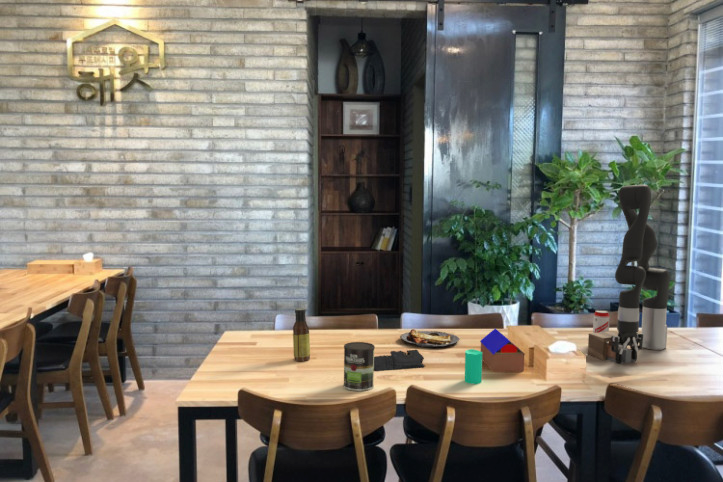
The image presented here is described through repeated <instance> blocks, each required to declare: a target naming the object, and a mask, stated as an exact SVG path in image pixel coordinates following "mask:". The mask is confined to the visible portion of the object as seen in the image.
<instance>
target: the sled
mask: <svg viewBox="0 0 723 482" xmlns="http://www.w3.org/2000/svg"><path fill="white" fill-rule="evenodd" d="M631 352H632V350H631V348H628V347H627V348H626V349H624V350H623V352H622V363H621V364H620V365H624V364H626V365H627V364H633V363H636V361H635V360H634V359H631ZM606 360H609V361H611V362H613V363H616V360H615V359H614V358H611V357H608V356H606Z"/></svg>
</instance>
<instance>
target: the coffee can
mask: <svg viewBox="0 0 723 482" xmlns="http://www.w3.org/2000/svg"><path fill="white" fill-rule="evenodd" d="M375 348H376V347H375V344H372V343H369V342H366V341H365V342H364V341H353V342H347V343H345V344H344V345H343V349H344V350H343V351H344V352H343V355H344V356H343V357H344V358H343V388H344V389H346V390H348V391H351V392H352V391H353V392H354V391H355V392H366V391H370V390H372V389H374V385H375V384H374V379H375V378H374V376H375V375H374V374H375V372H374V357H375Z"/></svg>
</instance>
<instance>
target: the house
mask: <svg viewBox="0 0 723 482" xmlns="http://www.w3.org/2000/svg"><path fill="white" fill-rule="evenodd" d="M479 341H480V351H481V352H482V362H484V363H485V364H486V365H487V367H488V368H489V369H490V370H491V371H492V372H495V373H496V372H497V373H499V372H501V373H502V372H504V373H505V372H506V373H507V372H525V355H526V353H524V352H523V351H522V350H521V349H520V348H519V347H518V346H517V345H515V344H514V343H513V342H512V341H511V340H510V339H509V338H507V337H506V336H505V335H504V334H503V333H501V332H500V331H499V330H498V329H497V328H494V329H492V331H490V332H489V333H488V334H487V335H485V336H484V337H483V338H482V339H480V340H479Z"/></svg>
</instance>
